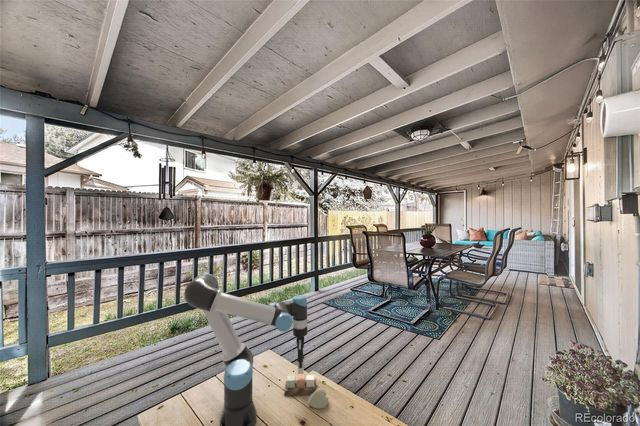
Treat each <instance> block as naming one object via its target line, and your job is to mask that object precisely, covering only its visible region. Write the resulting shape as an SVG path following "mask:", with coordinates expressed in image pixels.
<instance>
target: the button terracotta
mask: <svg viewBox="0 0 640 426" xmlns="http://www.w3.org/2000/svg"><path fill="white" fill-rule="evenodd" d="M296 380H297V388H305V380H306V376H305V374H297V375H296Z"/></svg>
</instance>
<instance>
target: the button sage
mask: <svg viewBox="0 0 640 426" xmlns="http://www.w3.org/2000/svg"><path fill="white" fill-rule="evenodd" d="M286 377H287V378H286V381H287V389H288V388H295V380H296V375H294V374H293V375H287V376H286Z"/></svg>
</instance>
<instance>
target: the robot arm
mask: <svg viewBox="0 0 640 426" xmlns="http://www.w3.org/2000/svg"><path fill="white" fill-rule="evenodd" d="M183 292H184V293H183V294H184V299H185V301H186V303H187V304H188V305H189V306H191V307H193V308H195V309H198V310H201V311H203V314H204V316H205V318H206V320H207V321H208V324H209V326H210V329H211V331H212V332H213V334H214V336H215V338H216V341H217V343H218V344H219V347H220V349H221V351H222V353H223V355H222V362H223V364H224V366H225V369H224V373H223V391H224V392H223V410H222V412H221V416H220V417H219V426H255V424H256V423H257V409H256V406H255V402H254V401H253V375H254V374H253V373H254V355H253V352H252V350H251V349H250V348H249V347H247V345H246V343H245V342H241V340H240V338H239V336H238V334H237V332H236V329H235V327H234V325H233V323H232V321H231V319H230V317H229V315H230V316H235V317H239V318H242V319H247V320H249V321H254V322H258V323H261V324H265V325H269V326H271V327H272V326H273V327H276V329H277V330H278V331H280V332H282V333H283V332H284V333H285V332H287V331H289V330H291V328H292V327H293V328H292V335H293V336H294V337H296V340H295V341H296V342H295V343H296V348H297V359H296V362H297V375H304V374H305V373H304V369H305V368H304V359H305V356H304V347H305V345H304V344H305V336H307V335H308V333H309V331H308V322H310V321H309V319H308V300H307V296H305V295H302V294H297V295H294V296H293V297H292V300H290V301H275V302H271V303H269V305H267V304H263V303H260V302H257V301H253V300H250V299H247V298H242V297H239V296H236V295H232V294H229V293H226V292H222V291H221V289H220V287H219V281H218V278H216V276H215V275H213V274H210V273H203V274H199V275H197V276H196V277H194V278H193V279H192V281H190V282H189V283H188V284H187V286H186V287H185V288H184V291H183Z"/></svg>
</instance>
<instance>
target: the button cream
mask: <svg viewBox="0 0 640 426" xmlns="http://www.w3.org/2000/svg"><path fill="white" fill-rule="evenodd" d="M305 380H306V381H307V386H306V388H315V386H314V380H315V374H306V379H305Z"/></svg>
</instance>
